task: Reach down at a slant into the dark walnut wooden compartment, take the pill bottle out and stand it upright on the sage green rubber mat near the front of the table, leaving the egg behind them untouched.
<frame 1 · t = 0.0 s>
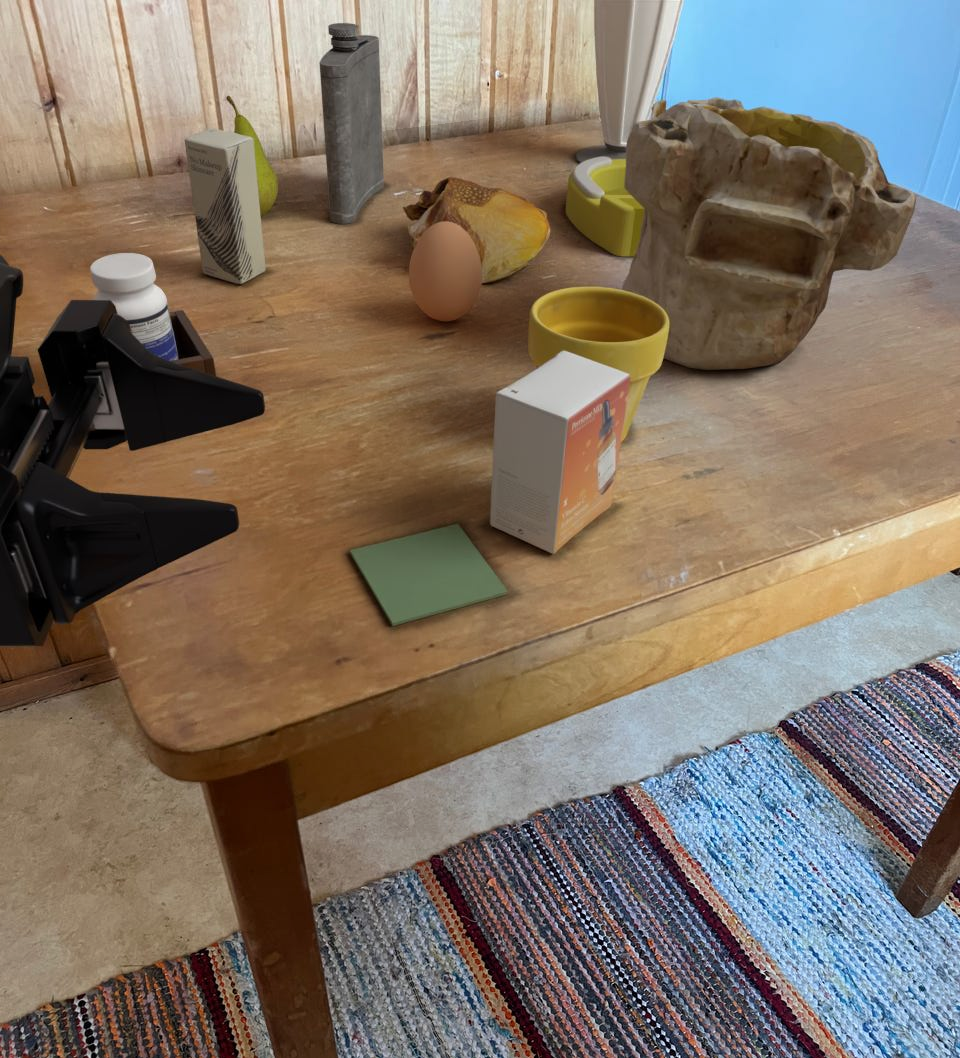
hand: (251, 455, 43), 18 cm above the table, tool horizontal, fingers open, 9 cm apart
ceramic vessel: (736, 346, 91), on the table
fruit: (255, 217, 111), on the table
compartment: (148, 385, 82), on the table
seashell: (470, 255, 105), on the table
box: (236, 275, 100), on the table
flask: (355, 203, 116), on the table
egg: (445, 320, 93), on the table
flower pot: (586, 430, 79), on the table
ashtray: (638, 223, 114), on the table
mat: (427, 573, 65), on the table
pill bottle: (148, 384, 82), resting on compartment
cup: (618, 162, 130), on the table
small box: (551, 518, 70), on the table
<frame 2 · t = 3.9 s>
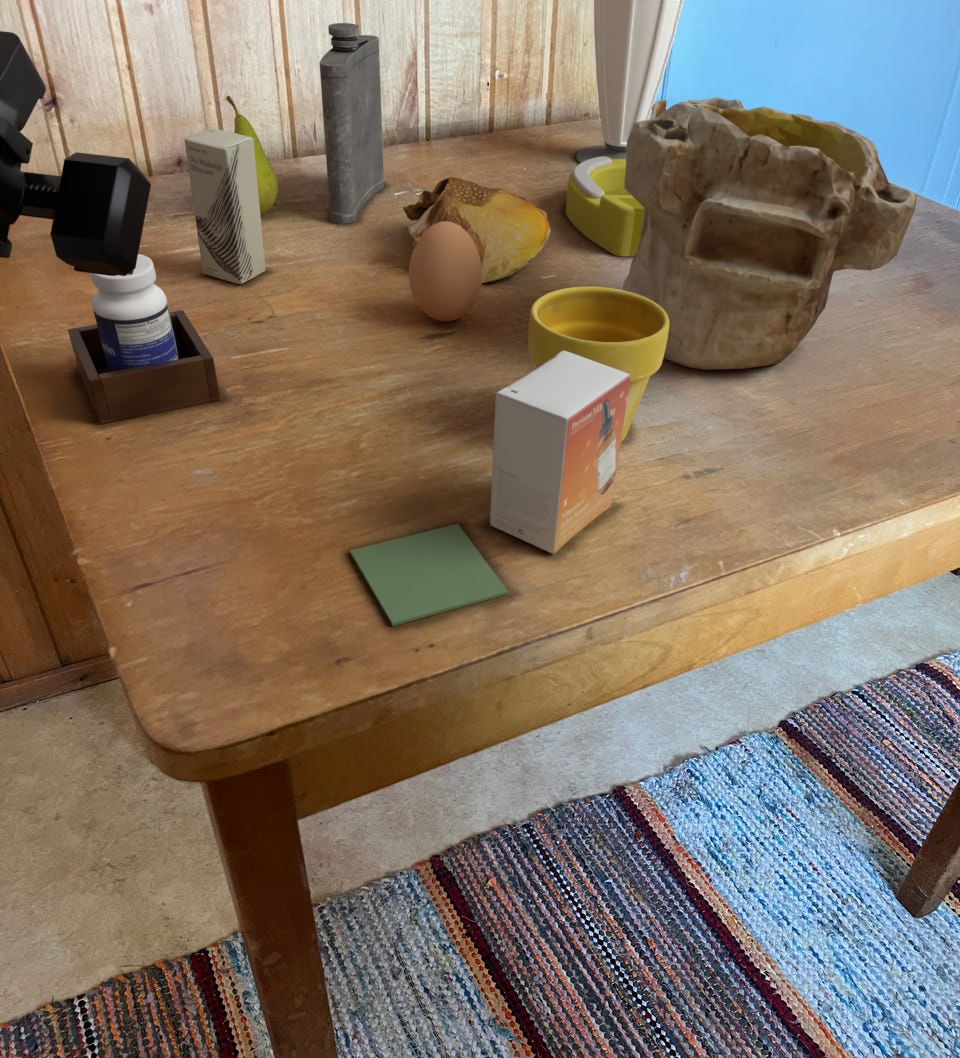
hand: (69, 258, 67), 14 cm above the table, tool tilted 45°, fingers open, 9 cm apart
nothing on the table moved.
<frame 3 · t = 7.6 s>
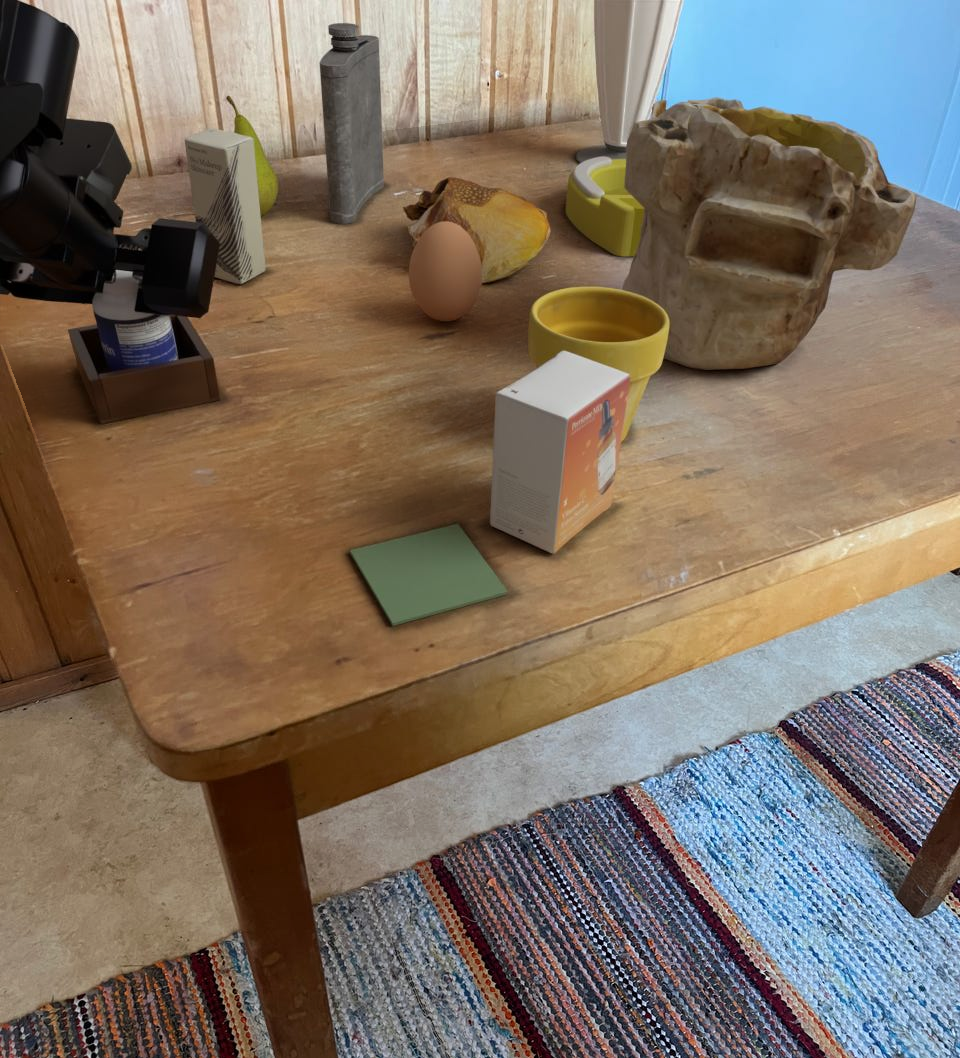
hand: (139, 302, 79), 7 cm above the table, tool tilted 45°, fingers closed on pill bottle, 6 cm apart
pill bottle: (148, 384, 82), resting on compartment, touching gripper
everything else where it was.
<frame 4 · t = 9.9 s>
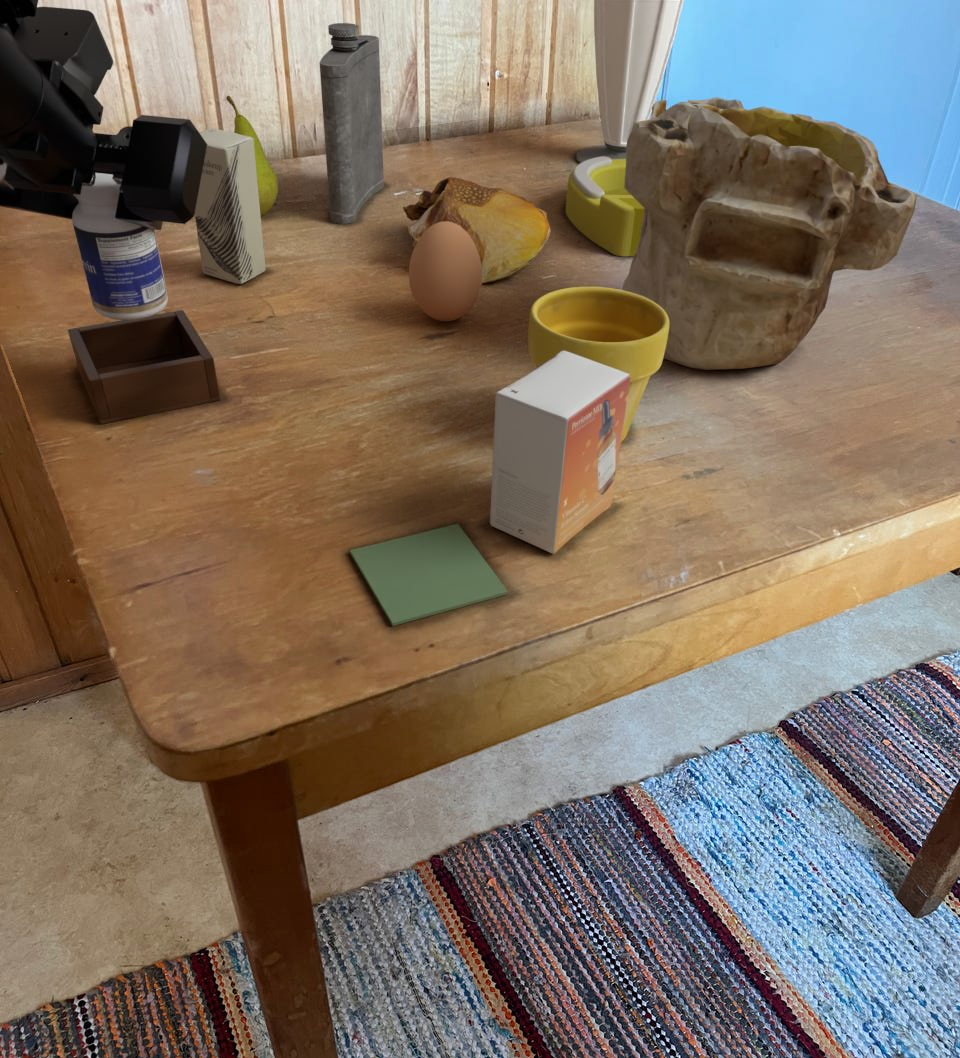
hand: (123, 219, 74), 13 cm above the table, tool tilted 45°, fingers closed on pill bottle, 6 cm apart
pill bottle: (132, 309, 78), point 7 cm above the table, touching gripper
everything else where it was.
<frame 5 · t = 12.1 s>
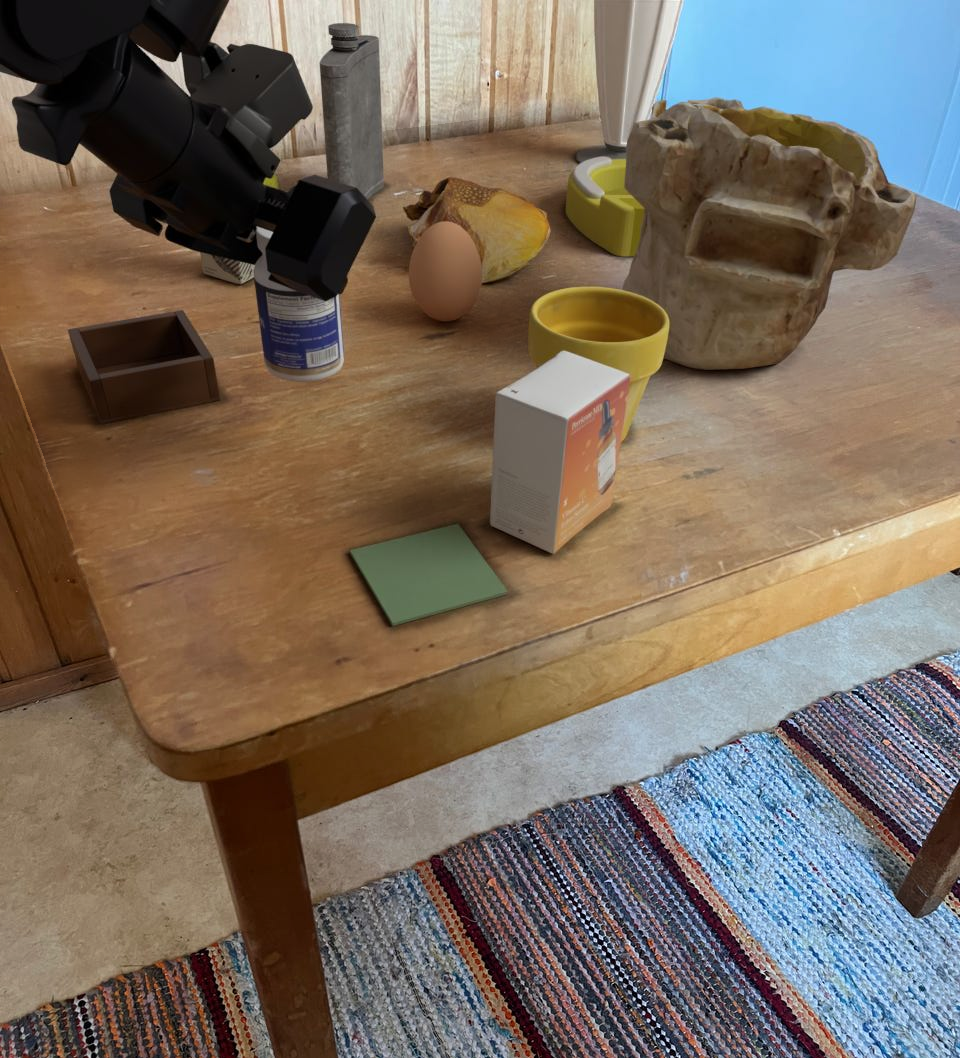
hand: (311, 275, 68), 13 cm above the table, tool tilted 45°, fingers closed on pill bottle, 6 cm apart
pill bottle: (305, 368, 71), point 7 cm above the table, touching gripper
everything else where it was.
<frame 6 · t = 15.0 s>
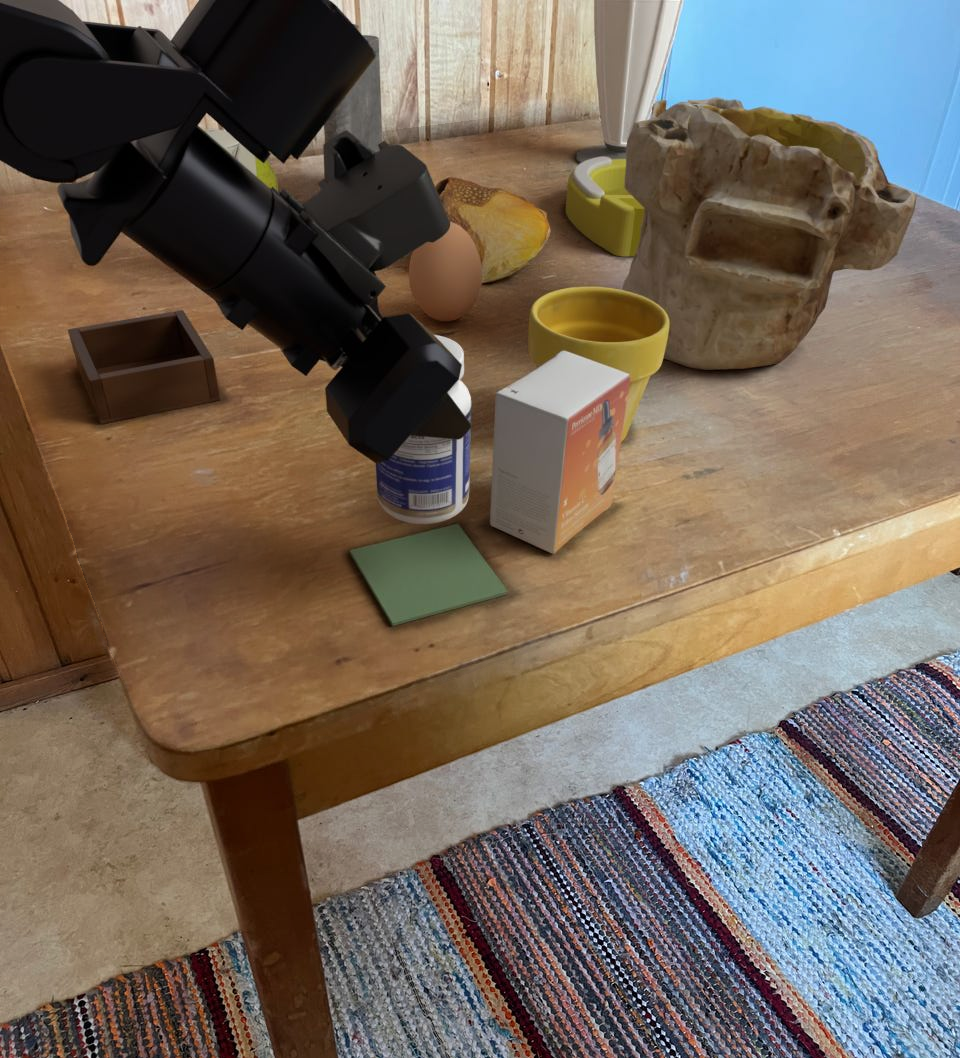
hand: (444, 406, 57), 12 cm above the table, tool tilted 45°, fingers closed on pill bottle, 6 cm apart
pill bottle: (422, 503, 61), point 6 cm above the table, touching gripper
everything else where it was.
when the fingers open (7 cm above the table, at t = 17.0 s): pill bottle stays where it is, resting on mat.
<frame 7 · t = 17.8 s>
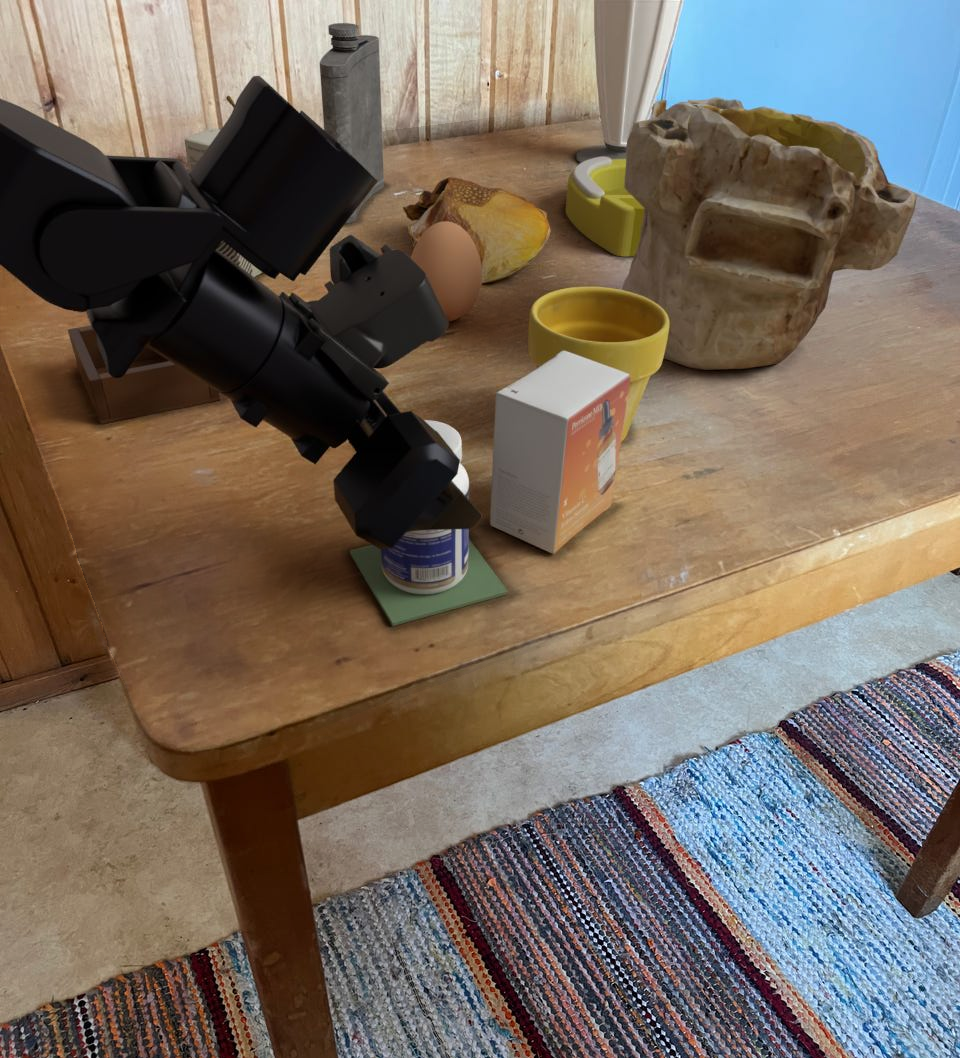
hand: (445, 480, 61), 7 cm above the table, tool tilted 45°, fingers open, 9 cm apart
pill bottle: (424, 572, 65), resting on mat
everything else where it was.
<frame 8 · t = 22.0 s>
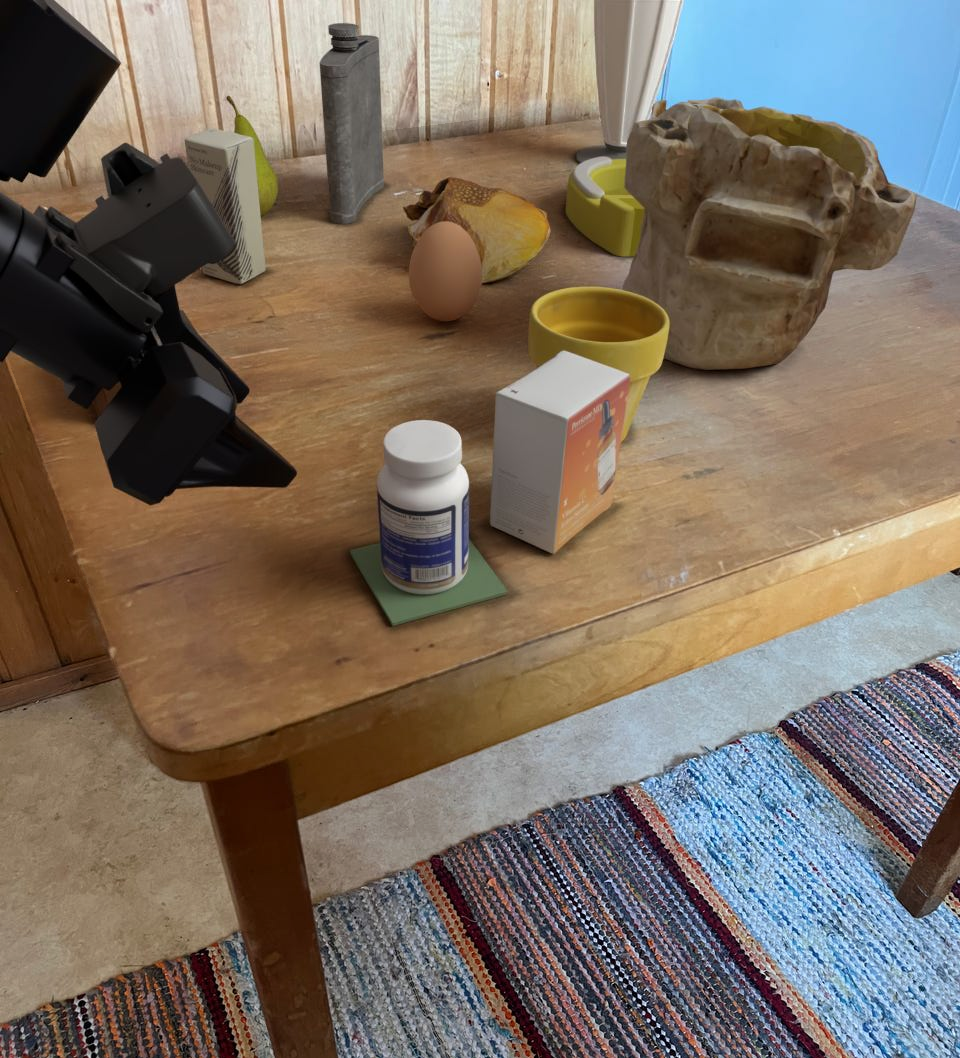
hand: (267, 435, 54), 13 cm above the table, tool tilted 45°, fingers open, 9 cm apart
nothing on the table moved.
at the end: pill bottle 0.2 cm off-centre on the mat, point 0.1 cm above the mat's base; pill bottle tilted 0°; egg moved 0.2 cm from its start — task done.
